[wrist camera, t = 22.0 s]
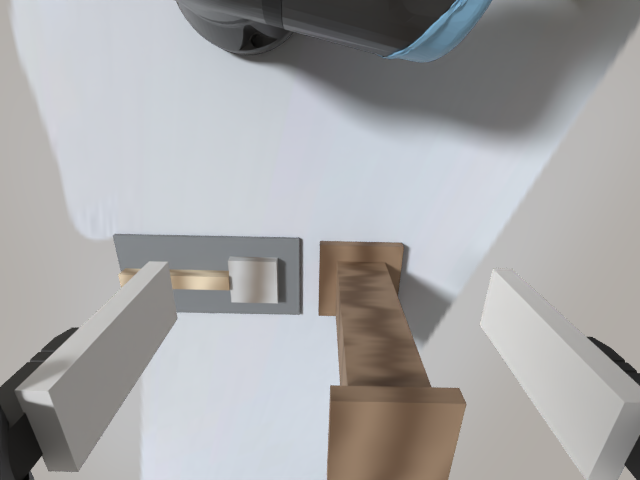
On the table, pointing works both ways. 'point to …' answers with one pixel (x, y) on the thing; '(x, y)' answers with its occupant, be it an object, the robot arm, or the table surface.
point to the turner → (229, 279)
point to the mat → (216, 267)
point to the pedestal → (381, 374)
